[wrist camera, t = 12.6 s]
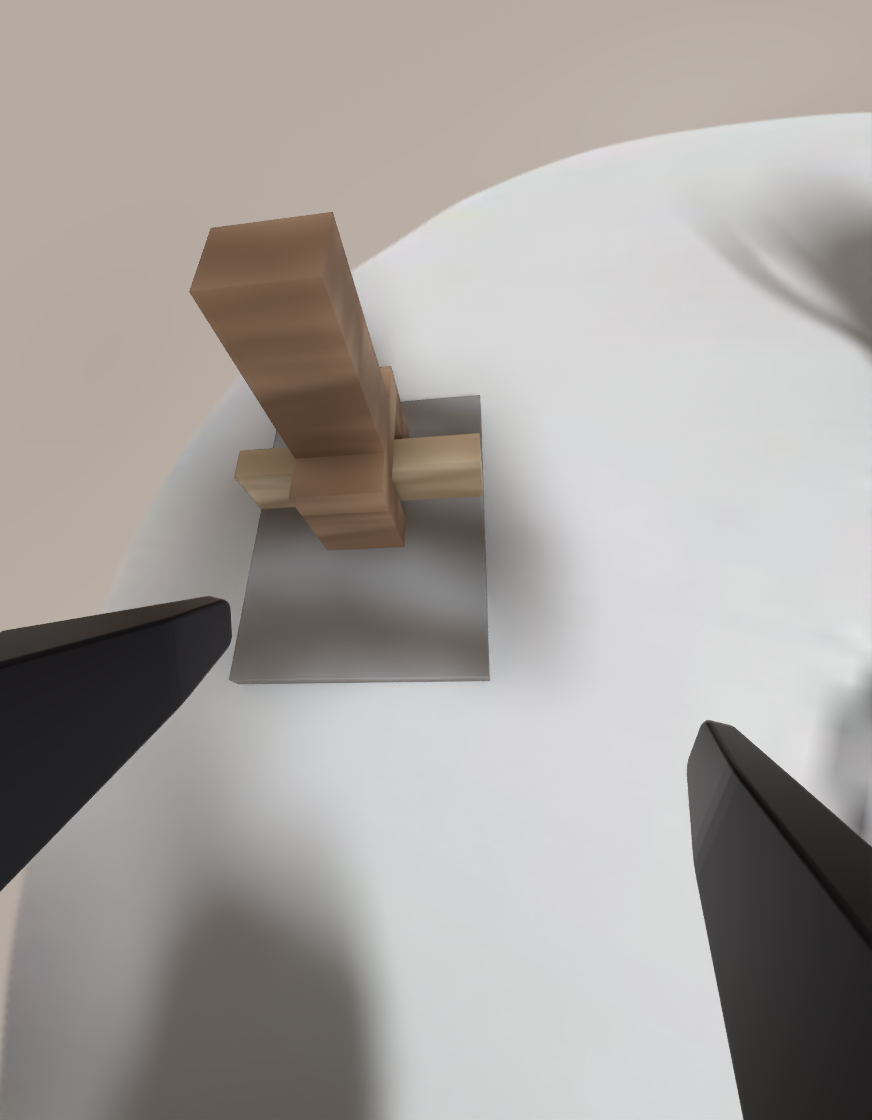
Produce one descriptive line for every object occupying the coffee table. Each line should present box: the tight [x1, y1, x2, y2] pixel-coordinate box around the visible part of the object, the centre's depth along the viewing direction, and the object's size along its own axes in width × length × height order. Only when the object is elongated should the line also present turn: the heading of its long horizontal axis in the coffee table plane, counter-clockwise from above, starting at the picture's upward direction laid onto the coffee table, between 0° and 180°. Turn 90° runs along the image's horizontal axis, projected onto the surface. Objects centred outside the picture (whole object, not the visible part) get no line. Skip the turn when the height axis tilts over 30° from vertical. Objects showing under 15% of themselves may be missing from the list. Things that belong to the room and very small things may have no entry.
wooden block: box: [189, 212, 410, 551], centre depth 21 cm, size 7×4×13 cm, turn 179°
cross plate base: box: [229, 395, 490, 684], centre depth 25 cm, size 16×12×4 cm
